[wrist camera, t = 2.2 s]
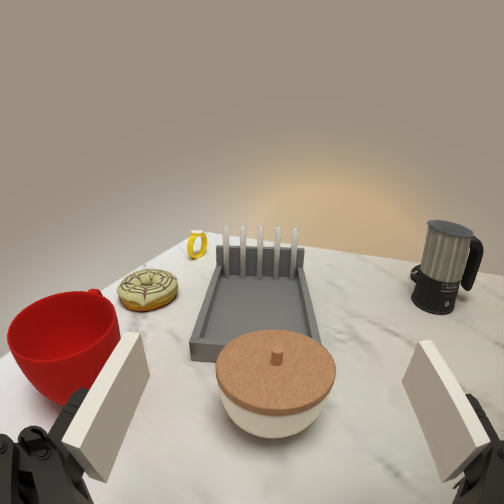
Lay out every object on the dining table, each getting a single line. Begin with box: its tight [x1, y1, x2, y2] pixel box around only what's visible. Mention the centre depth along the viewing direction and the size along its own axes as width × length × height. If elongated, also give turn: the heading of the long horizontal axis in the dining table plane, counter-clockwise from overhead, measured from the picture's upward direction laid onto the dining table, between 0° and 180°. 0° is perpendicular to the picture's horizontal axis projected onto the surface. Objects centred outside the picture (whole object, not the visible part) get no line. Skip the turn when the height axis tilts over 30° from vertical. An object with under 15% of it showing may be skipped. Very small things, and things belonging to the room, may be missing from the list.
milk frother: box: [411, 220, 483, 314], centre depth 50 cm, size 14×16×15 cm
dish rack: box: [189, 225, 322, 362], centre depth 45 cm, size 16×24×11 cm, turn 178°
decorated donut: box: [117, 269, 178, 311], centre depth 50 cm, size 10×11×4 cm
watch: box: [187, 230, 207, 259], centre depth 67 cm, size 6×3×6 cm, turn 155°
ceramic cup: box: [7, 289, 121, 406], centre depth 29 cm, size 13×17×10 cm
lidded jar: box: [216, 329, 336, 438], centre depth 27 cm, size 11×11×9 cm
